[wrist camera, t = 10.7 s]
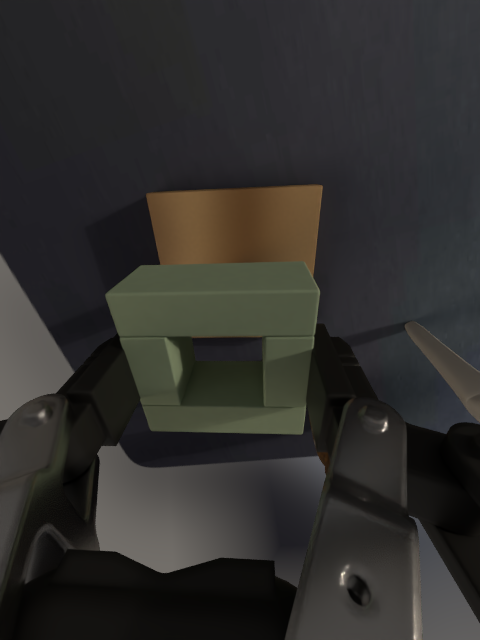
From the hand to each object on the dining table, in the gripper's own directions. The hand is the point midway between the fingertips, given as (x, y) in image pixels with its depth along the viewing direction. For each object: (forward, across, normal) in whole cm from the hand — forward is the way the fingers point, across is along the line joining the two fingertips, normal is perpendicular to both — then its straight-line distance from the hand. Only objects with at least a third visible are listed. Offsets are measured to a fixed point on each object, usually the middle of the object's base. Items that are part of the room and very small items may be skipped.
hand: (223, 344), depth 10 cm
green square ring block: (+1, 0, 0) cm, 1 cm away
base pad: (+9, 0, 0) cm, 9 cm away
